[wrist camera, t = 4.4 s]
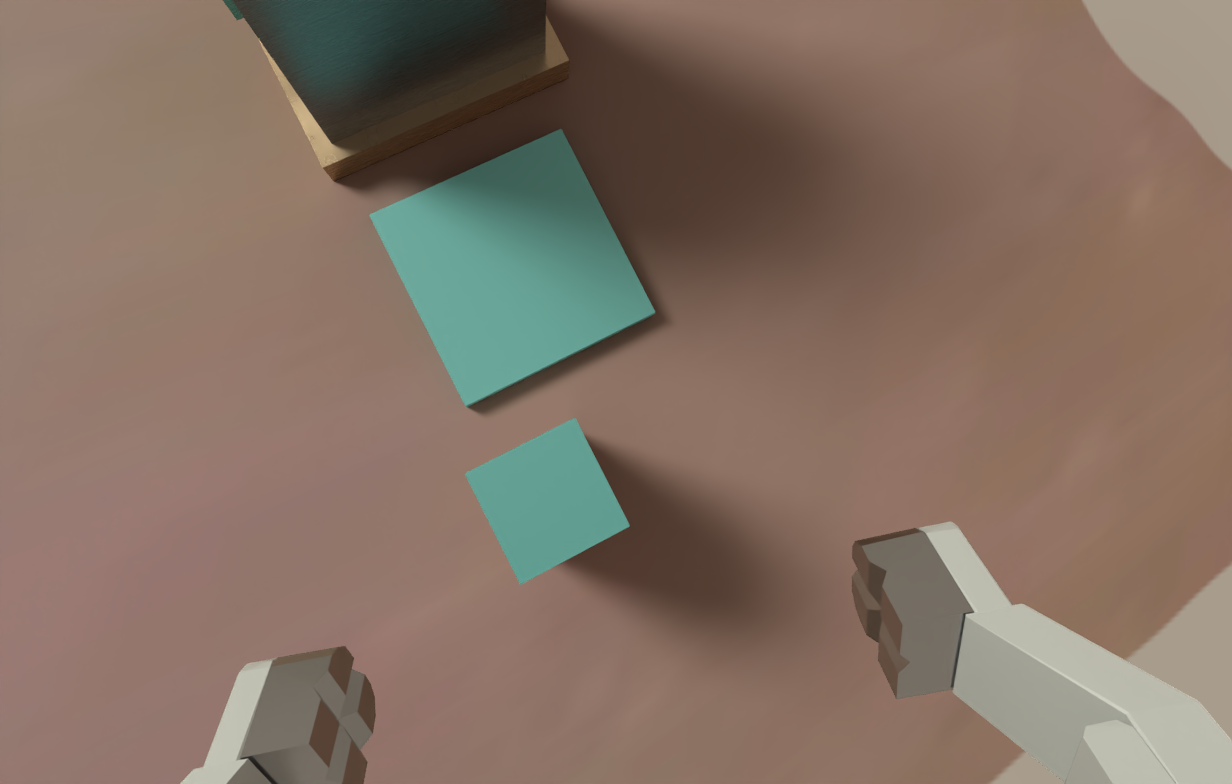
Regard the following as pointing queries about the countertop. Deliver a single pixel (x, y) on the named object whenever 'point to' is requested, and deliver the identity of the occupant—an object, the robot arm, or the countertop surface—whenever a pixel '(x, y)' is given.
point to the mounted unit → (400, 67)
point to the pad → (512, 266)
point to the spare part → (547, 500)
